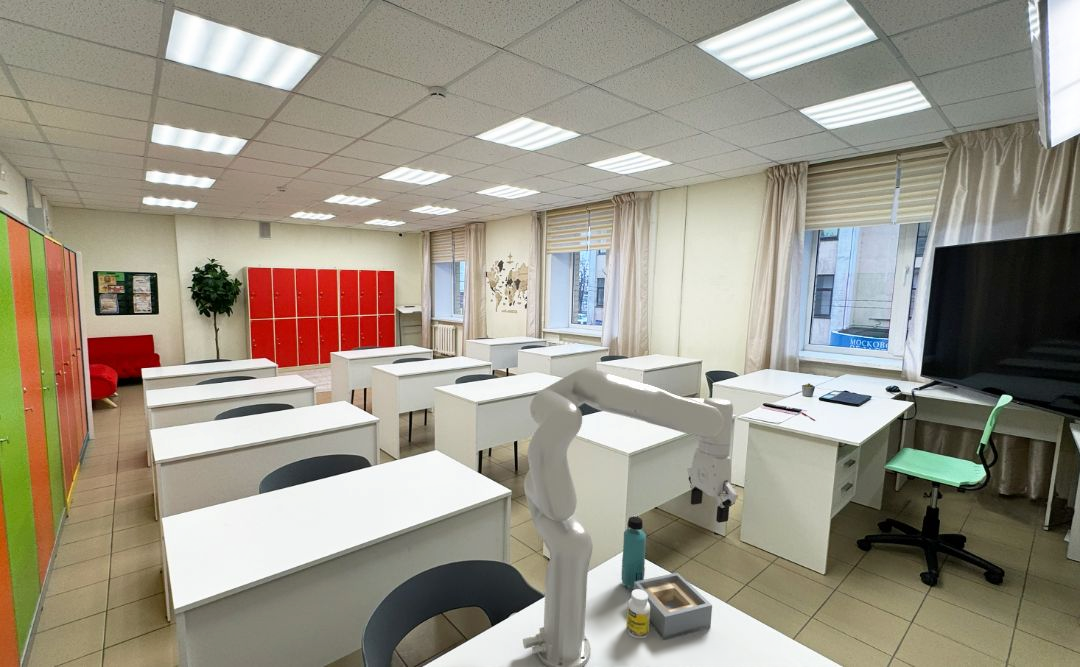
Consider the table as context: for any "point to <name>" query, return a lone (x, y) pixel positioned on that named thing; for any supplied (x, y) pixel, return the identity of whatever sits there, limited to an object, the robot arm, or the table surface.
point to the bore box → (675, 606)
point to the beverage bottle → (633, 552)
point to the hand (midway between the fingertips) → (708, 512)
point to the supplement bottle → (638, 614)
